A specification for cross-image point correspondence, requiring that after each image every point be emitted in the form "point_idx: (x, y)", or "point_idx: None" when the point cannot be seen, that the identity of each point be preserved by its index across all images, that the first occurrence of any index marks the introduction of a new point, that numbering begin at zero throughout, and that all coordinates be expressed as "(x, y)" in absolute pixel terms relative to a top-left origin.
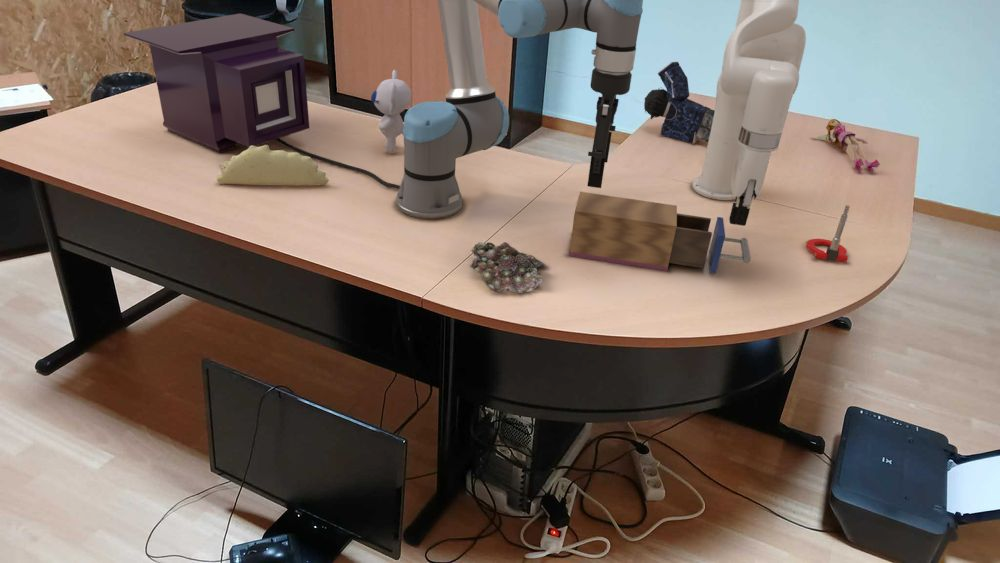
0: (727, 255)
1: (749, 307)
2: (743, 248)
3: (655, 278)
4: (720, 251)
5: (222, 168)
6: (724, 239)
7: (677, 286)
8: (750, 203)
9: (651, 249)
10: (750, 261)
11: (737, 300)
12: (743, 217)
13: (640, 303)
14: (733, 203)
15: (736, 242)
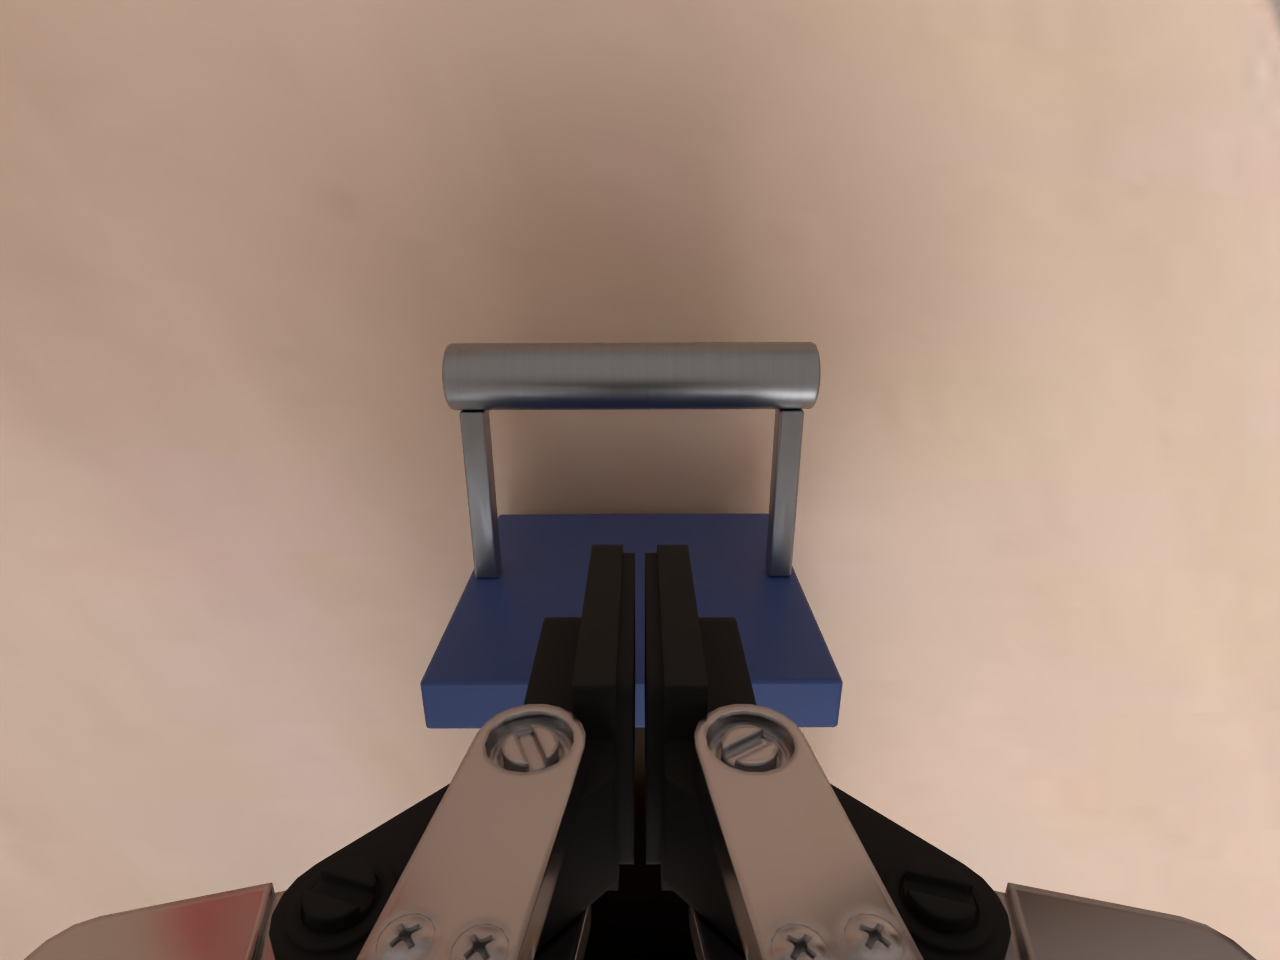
0: (789, 528)
1: (1099, 307)
2: (647, 403)
3: (856, 785)
4: (805, 600)
5: None
6: (495, 531)
7: (917, 691)
8: (836, 815)
9: None
10: (811, 343)
11: (1022, 378)
12: (743, 657)
13: (1106, 834)
14: (611, 890)
15: (489, 434)
